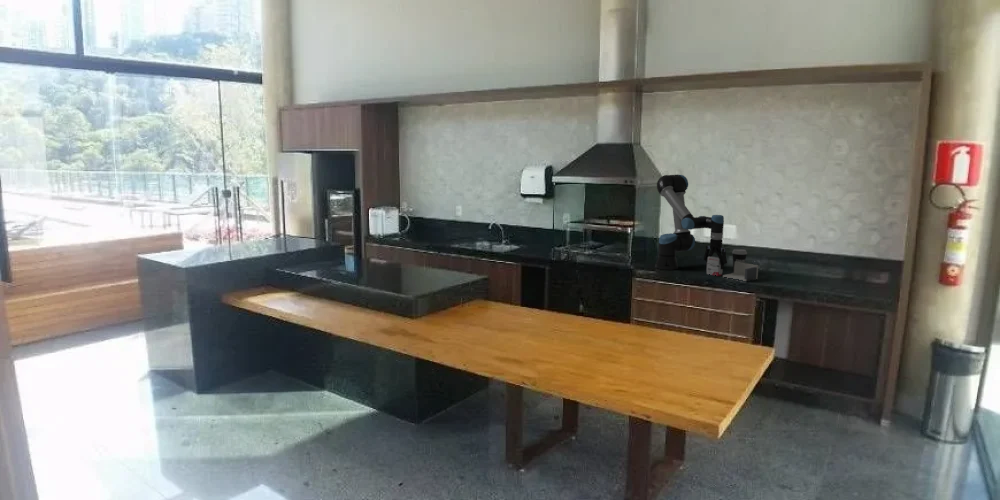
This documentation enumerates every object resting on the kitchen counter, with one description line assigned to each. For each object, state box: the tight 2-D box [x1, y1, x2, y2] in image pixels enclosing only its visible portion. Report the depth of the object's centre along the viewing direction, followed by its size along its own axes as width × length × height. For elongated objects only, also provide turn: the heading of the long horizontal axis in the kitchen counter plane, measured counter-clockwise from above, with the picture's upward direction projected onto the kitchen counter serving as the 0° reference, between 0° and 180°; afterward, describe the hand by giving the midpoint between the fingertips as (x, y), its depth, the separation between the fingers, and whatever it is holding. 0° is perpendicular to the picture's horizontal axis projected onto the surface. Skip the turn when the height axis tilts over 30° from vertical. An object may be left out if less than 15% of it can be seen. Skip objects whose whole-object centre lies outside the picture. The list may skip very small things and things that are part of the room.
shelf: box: [722, 261, 759, 282], centre depth 371 cm, size 16×13×9 cm
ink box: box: [706, 255, 723, 277], centre depth 382 cm, size 8×5×12 cm, turn 39°
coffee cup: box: [731, 248, 748, 273], centre depth 388 cm, size 10×10×15 cm
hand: (714, 272), depth 382 cm, fingers closed on ink box, 9 cm apart
